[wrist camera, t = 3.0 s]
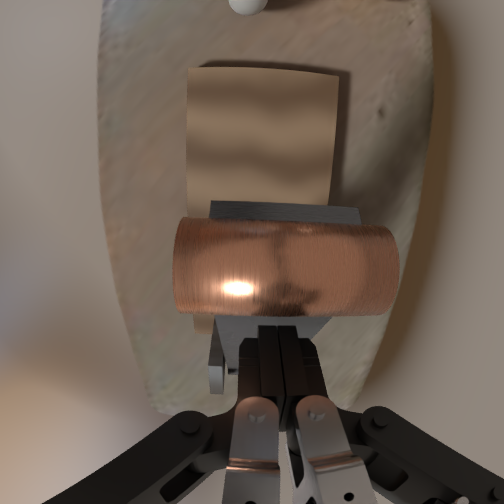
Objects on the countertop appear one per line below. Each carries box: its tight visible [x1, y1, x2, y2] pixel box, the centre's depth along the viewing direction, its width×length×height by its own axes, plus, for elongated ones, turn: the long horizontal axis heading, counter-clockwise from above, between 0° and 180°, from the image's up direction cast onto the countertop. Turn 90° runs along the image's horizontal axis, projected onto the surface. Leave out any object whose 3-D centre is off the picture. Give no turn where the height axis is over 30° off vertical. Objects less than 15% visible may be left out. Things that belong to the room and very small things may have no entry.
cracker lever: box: [173, 200, 399, 375], centre depth 20 cm, size 24×6×6 cm
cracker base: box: [186, 67, 339, 394], centre depth 27 cm, size 30×14×13 cm, turn 178°
